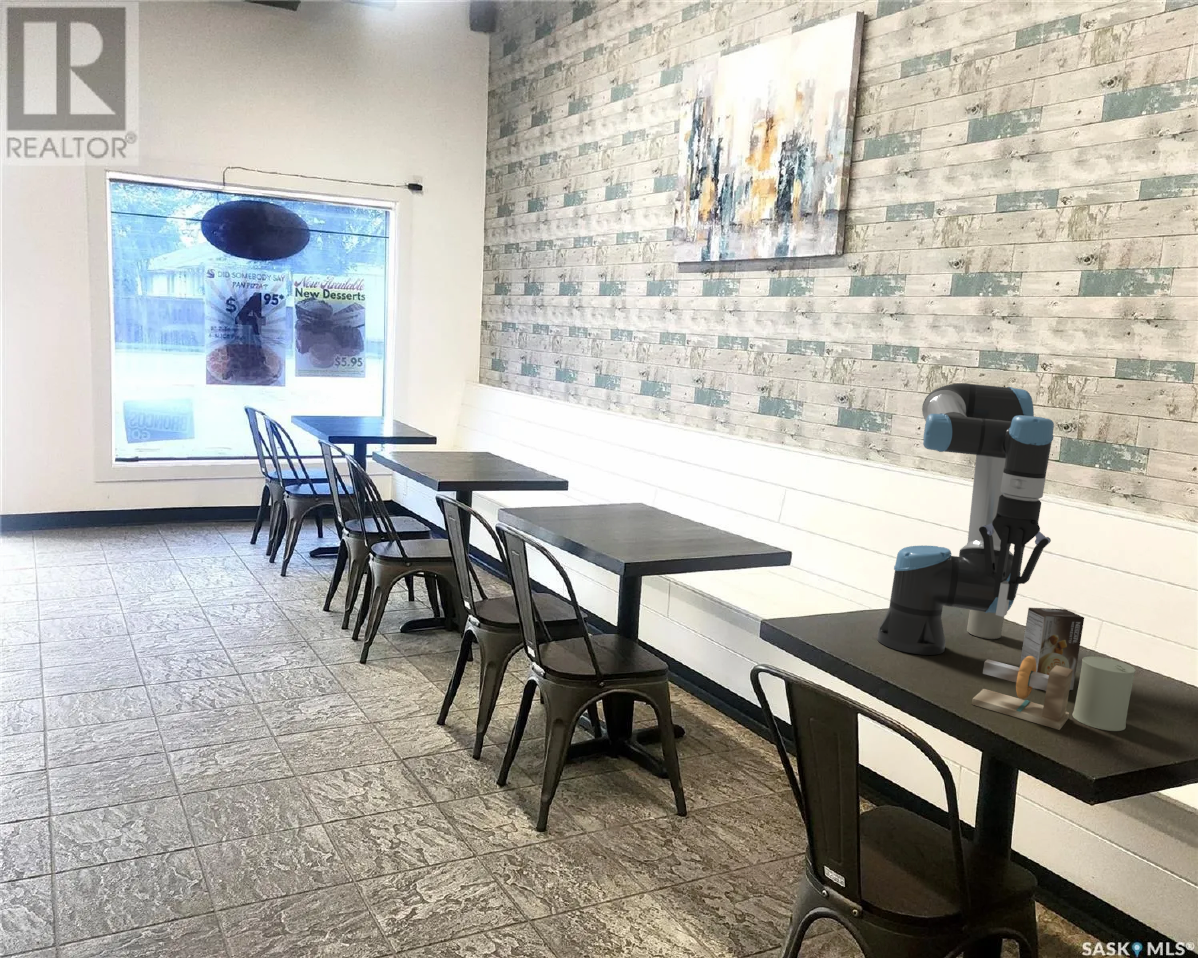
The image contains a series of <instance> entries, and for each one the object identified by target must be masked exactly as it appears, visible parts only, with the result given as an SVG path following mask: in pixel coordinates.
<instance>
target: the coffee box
mask: <svg viewBox="0 0 1198 958" xmlns="http://www.w3.org/2000/svg"><path fill="white" fill-rule="evenodd" d="M1027 609H1028V610H1027V617H1026V623H1025V629H1024V630H1025V631H1024V637H1023V642H1022V643H1023V644H1022V648H1021V657H1020V663H1019V667H1020V666H1021V663H1022V661H1023V660H1024V659H1025V658H1026V657H1027V656H1033V657H1034V658H1035V659H1036V667H1037V669H1036V672H1038V673H1042V674H1046V675H1049V672H1050V671H1051V670H1052V669H1053V668H1054V667H1055V666H1056V665H1057V666H1061V667H1065V668H1069V669H1073V673H1072V679H1071V684H1070V690H1069V691H1073V690H1074V684H1075V679H1076V672H1077V665H1078V659H1079V653H1080V647H1081V641H1082V634H1083V629H1084V624H1085V623H1084V622H1085V621H1084V620H1085V617H1084V616H1082V615H1080V614H1077V613H1075V612H1073V611H1071V610H1068V609H1066V608H1065V609H1064V608H1050V607H1049V608H1045V607H1027ZM1032 689H1034V690H1039V689H1038V688H1034V687H1032Z"/></svg>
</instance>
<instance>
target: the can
mask: <svg viewBox="0 0 1198 958" xmlns="http://www.w3.org/2000/svg"><path fill="white" fill-rule="evenodd" d="M1081 660H1082V661H1081V667H1080V668H1081V669H1080V675H1079V681H1078V688H1077V691H1076V697H1075V703H1074V708H1073V712H1072V717H1073V719H1074V720H1076V721H1077V722H1079V723H1081V724H1083V725H1086V726H1088V727H1091V728H1094V729H1099V730H1102V731H1110V732H1120V731H1124V730H1125V729H1126V726H1127V725H1126V723H1127V717H1128V711H1129V704H1130V699H1131V694H1132V688H1133V684H1134V679H1135V674H1136V671H1137V670H1136V669H1135V668H1134V667H1133V666H1132V665H1130V664H1128V663H1126V662H1123V661H1120V660H1117V659H1114V658H1113V659H1112V658H1109V657H1102V656H1093V655H1092V656H1089V655H1088V656H1084V657H1083V658H1082V659H1081Z"/></svg>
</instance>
